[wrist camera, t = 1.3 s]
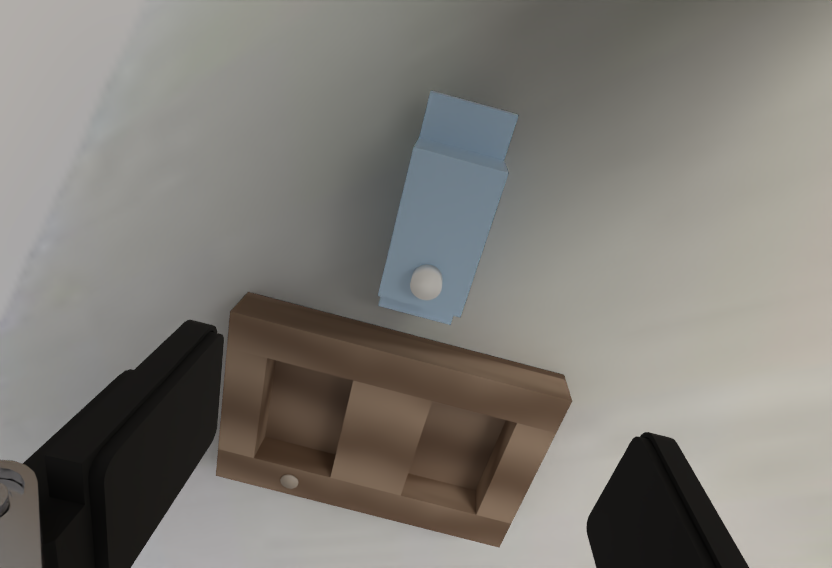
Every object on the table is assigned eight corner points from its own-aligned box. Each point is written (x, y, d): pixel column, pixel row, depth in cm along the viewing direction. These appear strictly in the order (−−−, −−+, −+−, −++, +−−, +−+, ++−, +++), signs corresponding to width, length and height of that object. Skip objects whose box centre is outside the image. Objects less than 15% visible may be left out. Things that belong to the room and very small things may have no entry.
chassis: (248, 291, 29) (229, 312, 27) (564, 374, 30) (572, 402, 27) (231, 448, 35) (215, 476, 33) (497, 516, 35) (499, 548, 33)
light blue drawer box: (434, 87, 24) (424, 97, 18) (512, 109, 24) (528, 125, 18) (386, 283, 28) (366, 339, 23) (451, 300, 28) (448, 361, 23)
